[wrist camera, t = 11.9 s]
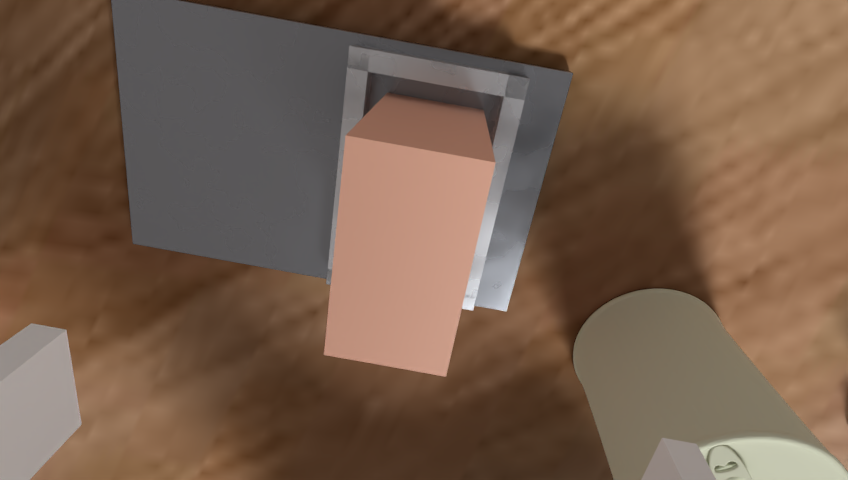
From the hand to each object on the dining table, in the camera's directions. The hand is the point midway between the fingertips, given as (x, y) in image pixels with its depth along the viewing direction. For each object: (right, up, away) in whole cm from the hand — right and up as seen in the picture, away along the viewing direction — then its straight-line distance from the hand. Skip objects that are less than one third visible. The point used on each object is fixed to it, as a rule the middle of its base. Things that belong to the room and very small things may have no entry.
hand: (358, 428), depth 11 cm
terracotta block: (+1, +7, +16) cm, 18 cm away
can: (+16, -3, +21) cm, 26 cm away
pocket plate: (-4, +9, +17) cm, 19 cm away
